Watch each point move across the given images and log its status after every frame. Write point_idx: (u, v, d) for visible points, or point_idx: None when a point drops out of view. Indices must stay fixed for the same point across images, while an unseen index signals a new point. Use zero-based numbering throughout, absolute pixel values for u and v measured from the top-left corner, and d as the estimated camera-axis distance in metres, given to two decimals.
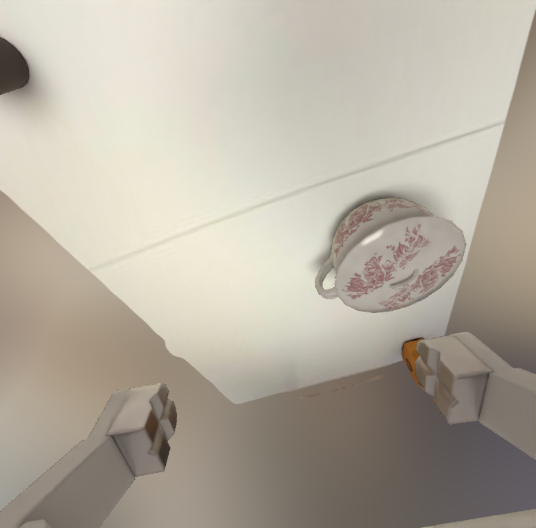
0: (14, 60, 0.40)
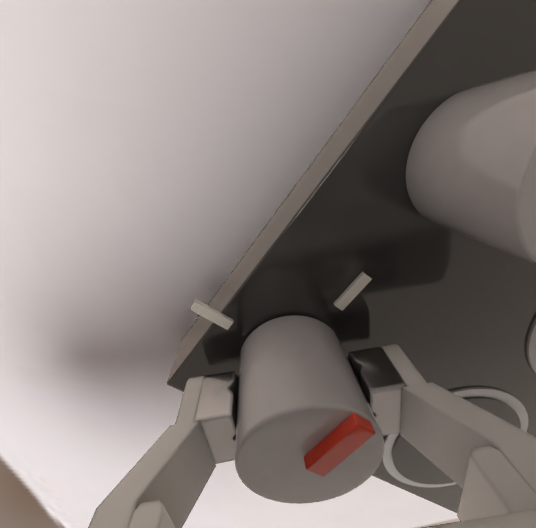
0: None
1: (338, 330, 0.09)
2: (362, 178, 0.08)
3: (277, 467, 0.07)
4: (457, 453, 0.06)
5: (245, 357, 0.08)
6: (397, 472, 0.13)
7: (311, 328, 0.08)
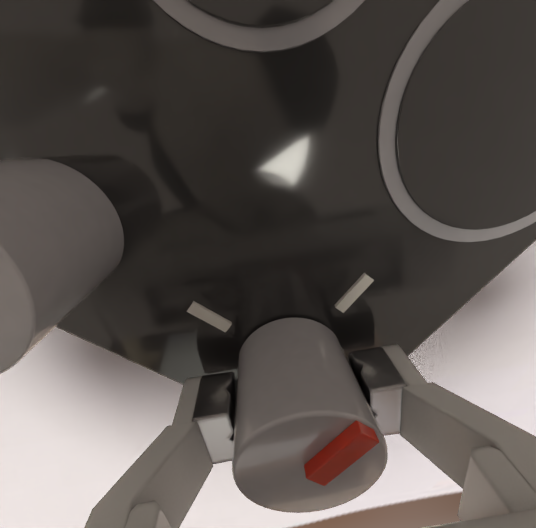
0: None
1: (258, 320, 0.09)
2: (96, 322, 0.09)
3: (276, 476, 0.06)
4: (457, 453, 0.06)
5: (243, 360, 0.08)
6: None
7: (312, 331, 0.08)
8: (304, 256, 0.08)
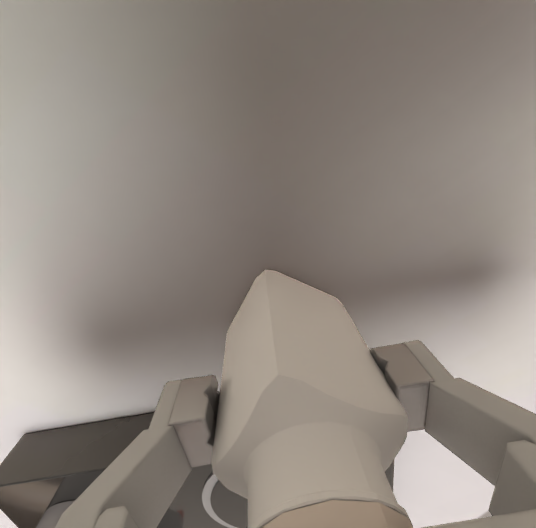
0: None
1: None
2: None
3: None
4: (488, 448, 0.06)
5: None
6: None
7: None
8: None
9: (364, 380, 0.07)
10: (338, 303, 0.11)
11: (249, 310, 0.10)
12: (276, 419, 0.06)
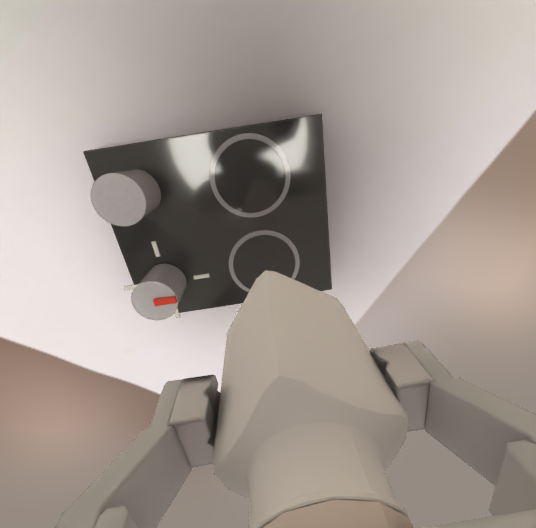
0: None
1: (168, 262, 0.24)
2: None
3: (144, 296, 0.22)
4: (488, 448, 0.06)
5: (155, 268, 0.24)
6: None
7: (181, 276, 0.24)
8: (196, 255, 0.24)
9: (364, 380, 0.07)
10: (338, 304, 0.11)
11: (249, 311, 0.10)
12: (277, 420, 0.06)
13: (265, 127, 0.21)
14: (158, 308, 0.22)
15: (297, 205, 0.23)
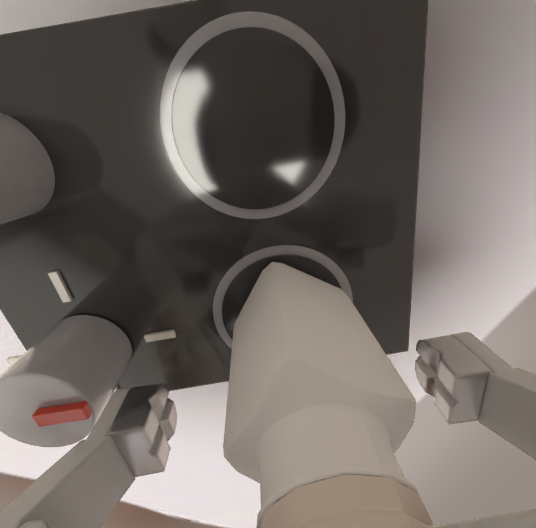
0: None
1: (91, 311, 0.12)
2: None
3: (15, 405, 0.09)
4: None
5: (58, 328, 0.11)
6: None
7: (116, 340, 0.12)
8: (147, 297, 0.12)
9: (372, 365, 0.07)
10: (344, 295, 0.11)
11: (257, 301, 0.10)
12: (288, 401, 0.06)
13: None
14: (52, 426, 0.10)
15: (355, 192, 0.11)
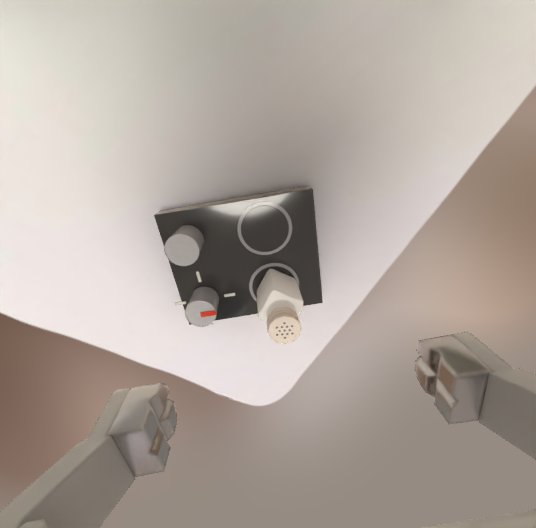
0: None
1: (207, 285, 0.35)
2: None
3: (194, 311, 0.32)
4: None
5: (199, 290, 0.34)
6: None
7: (216, 295, 0.35)
8: (226, 280, 0.35)
9: (293, 294, 0.30)
10: (293, 279, 0.34)
11: (265, 280, 0.32)
12: (273, 299, 0.29)
13: (275, 197, 0.31)
14: (203, 318, 0.33)
15: (297, 246, 0.34)
